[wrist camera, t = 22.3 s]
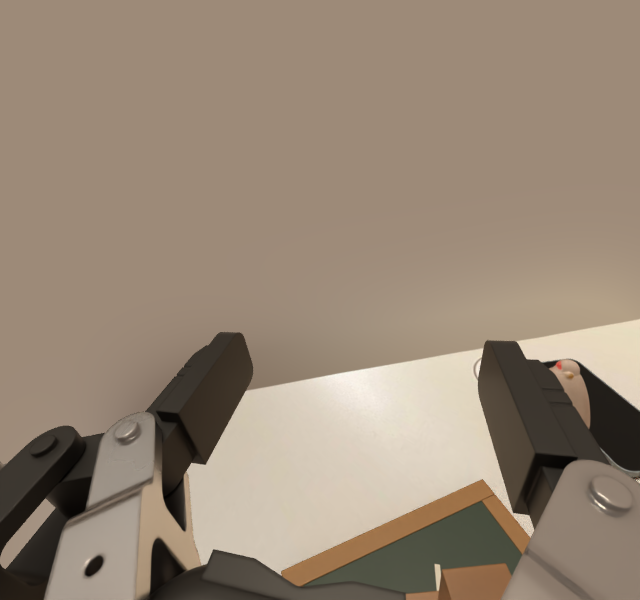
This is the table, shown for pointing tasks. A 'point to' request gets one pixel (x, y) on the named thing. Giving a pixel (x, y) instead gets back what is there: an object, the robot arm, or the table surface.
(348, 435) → the table surface
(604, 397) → the smartphone
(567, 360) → the figurine
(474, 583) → the eraser
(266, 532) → the table surface
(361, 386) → the table surface
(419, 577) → the chalkboard
